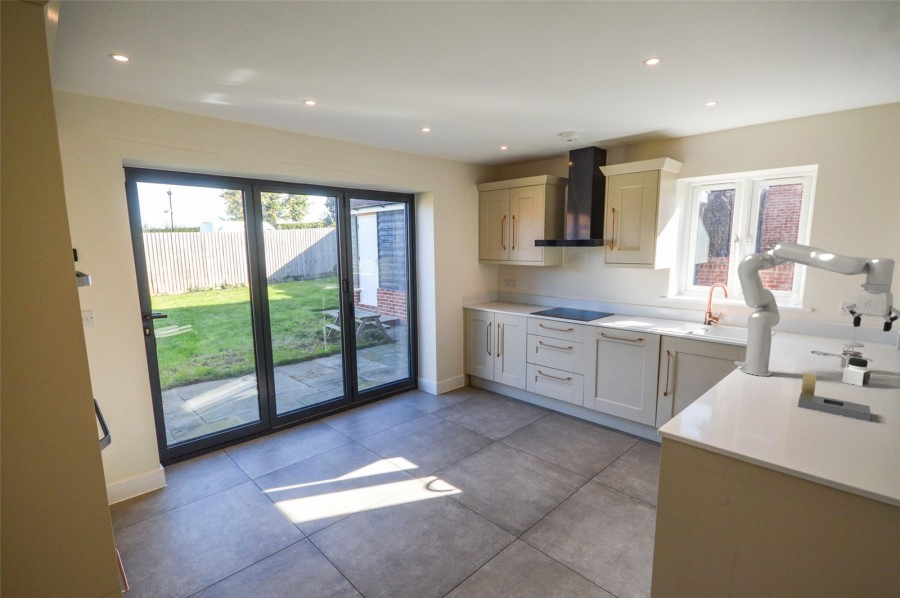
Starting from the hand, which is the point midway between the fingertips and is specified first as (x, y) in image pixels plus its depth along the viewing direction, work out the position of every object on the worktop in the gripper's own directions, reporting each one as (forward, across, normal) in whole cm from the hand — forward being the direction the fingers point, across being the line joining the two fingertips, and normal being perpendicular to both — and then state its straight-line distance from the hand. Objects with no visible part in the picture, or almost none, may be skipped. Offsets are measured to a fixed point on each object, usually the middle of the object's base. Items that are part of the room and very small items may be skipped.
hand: (871, 328), depth 172 cm
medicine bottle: (+29, -10, +17) cm, 35 cm away
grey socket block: (+29, +6, -31) cm, 43 cm away
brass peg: (+29, -6, -25) cm, 39 cm away
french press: (+29, -24, +40) cm, 55 cm away
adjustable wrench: (+30, -42, +66) cm, 84 cm away
